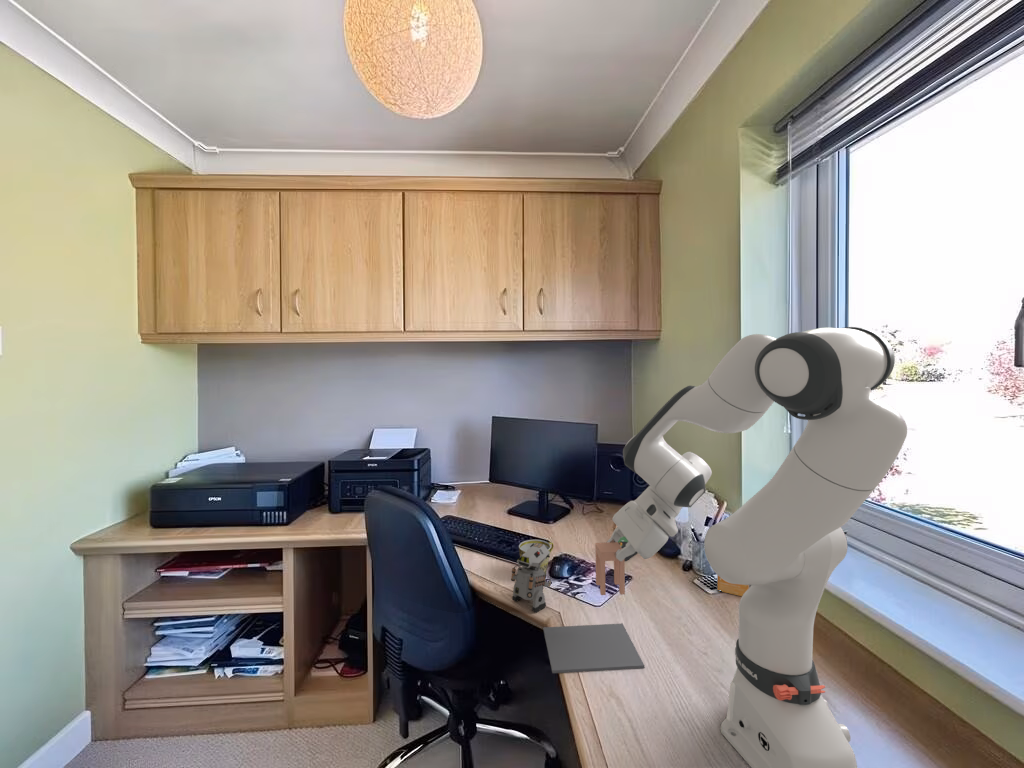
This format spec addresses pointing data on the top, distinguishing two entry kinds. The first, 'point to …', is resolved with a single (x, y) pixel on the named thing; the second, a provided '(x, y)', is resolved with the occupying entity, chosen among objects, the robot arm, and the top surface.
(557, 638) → the charcoal mat
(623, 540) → the disk drive
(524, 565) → the figurine
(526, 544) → the ceramic cup
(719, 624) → the top surface
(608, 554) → the miniature stool
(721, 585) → the small box
